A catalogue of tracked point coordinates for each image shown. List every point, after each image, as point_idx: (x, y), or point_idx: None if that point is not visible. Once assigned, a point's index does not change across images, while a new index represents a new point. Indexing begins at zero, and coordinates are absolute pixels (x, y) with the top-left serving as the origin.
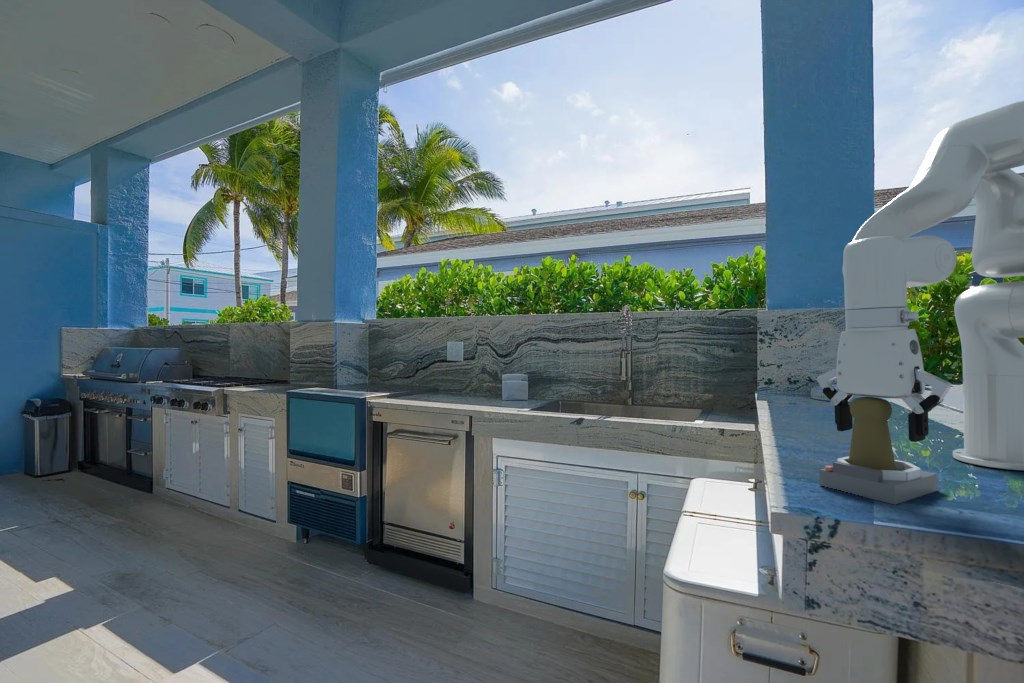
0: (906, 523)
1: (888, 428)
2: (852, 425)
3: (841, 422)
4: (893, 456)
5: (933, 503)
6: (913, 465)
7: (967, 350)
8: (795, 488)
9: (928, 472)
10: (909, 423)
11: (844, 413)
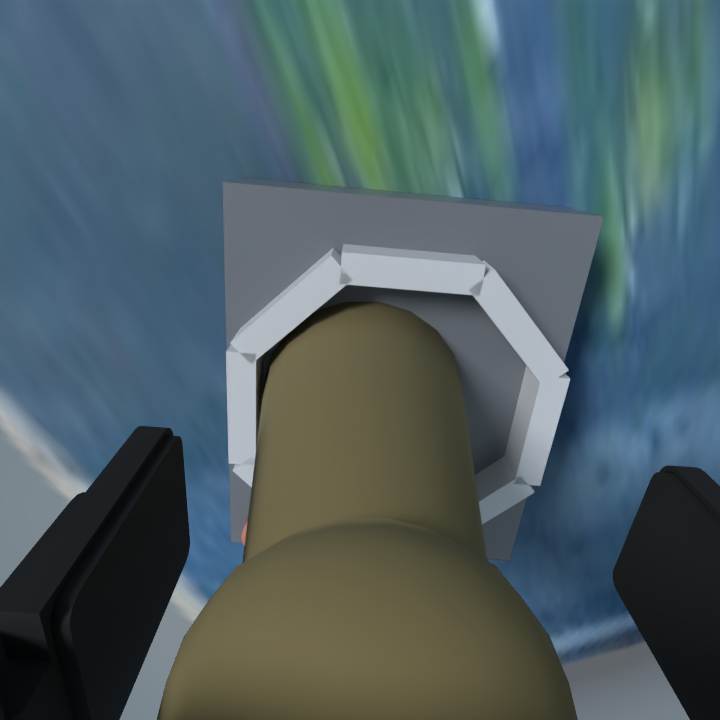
0: (552, 627)
1: (483, 542)
2: (171, 448)
3: (163, 605)
4: (463, 408)
5: (578, 410)
6: (529, 327)
7: None
8: (219, 570)
9: (565, 229)
10: (686, 700)
11: (130, 647)
